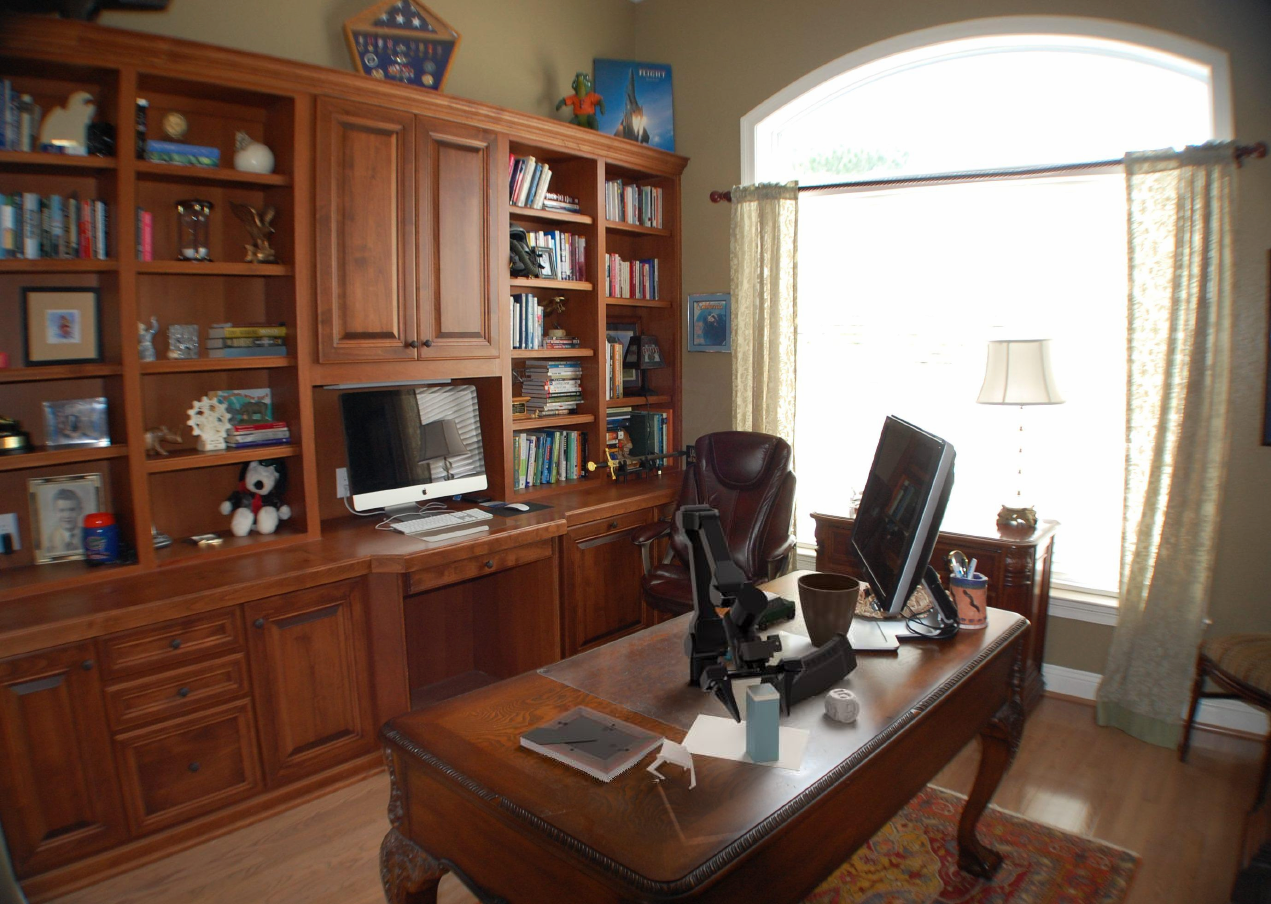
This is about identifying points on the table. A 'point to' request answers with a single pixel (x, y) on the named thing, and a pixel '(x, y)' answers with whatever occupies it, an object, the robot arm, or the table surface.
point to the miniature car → (776, 611)
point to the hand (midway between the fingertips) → (763, 719)
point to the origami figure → (674, 759)
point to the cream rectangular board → (742, 741)
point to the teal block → (762, 723)
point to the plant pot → (827, 604)
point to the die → (842, 705)
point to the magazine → (821, 670)
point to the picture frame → (592, 742)
